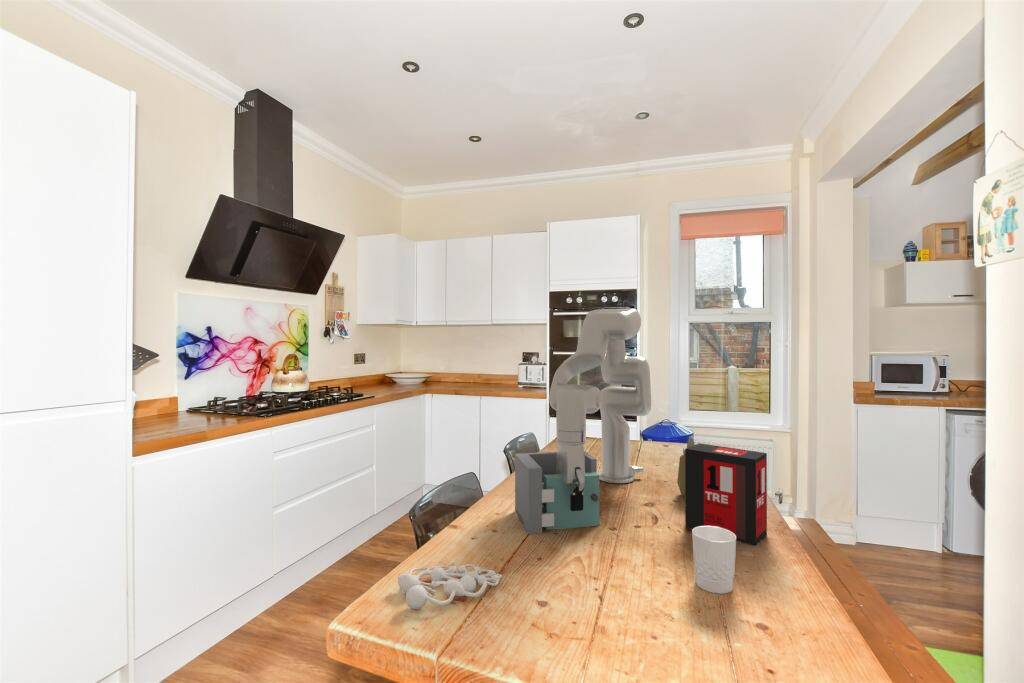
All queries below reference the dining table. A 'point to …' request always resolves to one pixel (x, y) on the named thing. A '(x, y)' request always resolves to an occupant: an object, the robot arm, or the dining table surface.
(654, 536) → the dining table surface
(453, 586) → the tangled rod sculpture
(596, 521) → the cabinet door
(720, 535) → the white cup
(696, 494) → the cleaning product box
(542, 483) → the cabinet
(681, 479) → the squeeze bottle
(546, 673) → the dining table surface
